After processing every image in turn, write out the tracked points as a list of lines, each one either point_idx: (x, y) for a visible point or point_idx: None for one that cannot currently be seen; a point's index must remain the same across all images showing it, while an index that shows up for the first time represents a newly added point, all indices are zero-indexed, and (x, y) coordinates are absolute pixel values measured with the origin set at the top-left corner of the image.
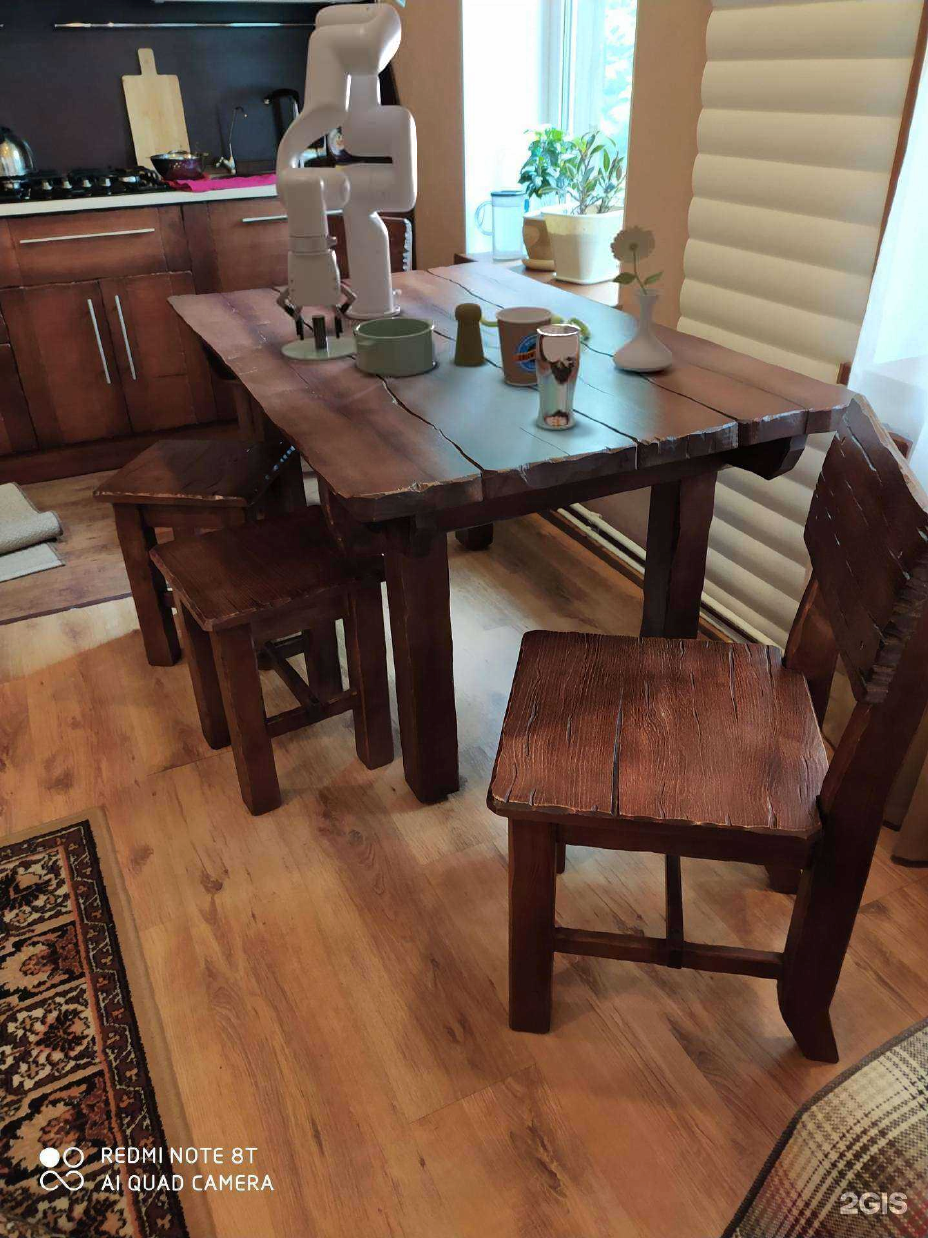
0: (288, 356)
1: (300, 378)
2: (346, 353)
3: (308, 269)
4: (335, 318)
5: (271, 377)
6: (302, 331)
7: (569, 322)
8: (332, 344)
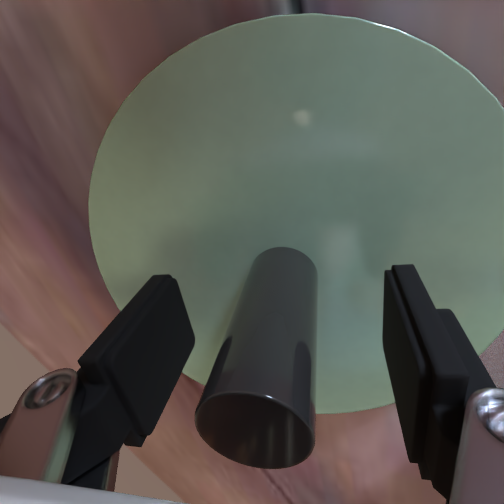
0: None
1: (267, 479)
2: None
3: None
4: (425, 468)
5: (186, 457)
6: (176, 379)
7: None
8: (340, 235)
